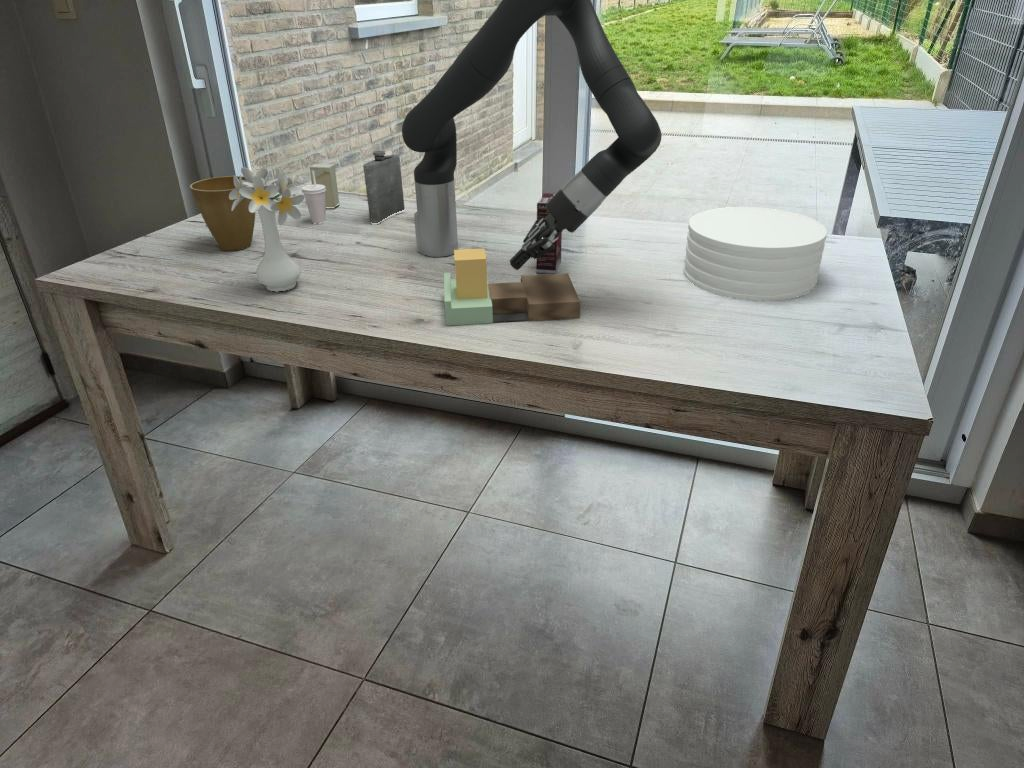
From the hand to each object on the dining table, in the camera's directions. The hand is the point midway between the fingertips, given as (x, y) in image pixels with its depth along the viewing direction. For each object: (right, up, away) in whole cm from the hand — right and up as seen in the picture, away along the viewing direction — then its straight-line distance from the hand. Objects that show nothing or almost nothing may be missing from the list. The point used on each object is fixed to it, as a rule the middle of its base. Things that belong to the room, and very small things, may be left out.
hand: (513, 266), depth 138 cm
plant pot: (-70, +12, +40) cm, 82 cm away
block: (-8, -5, +2) cm, 10 cm away
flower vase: (-50, -2, +16) cm, 52 cm away
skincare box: (-55, +29, +69) cm, 93 cm away
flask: (-35, +24, +59) cm, 73 cm away
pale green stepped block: (-9, -8, +4) cm, 13 cm away
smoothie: (-54, +21, +56) cm, 81 cm away
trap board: (+4, -7, +5) cm, 9 cm away
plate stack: (+52, 0, +17) cm, 55 cm away
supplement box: (+8, +4, +23) cm, 25 cm away
